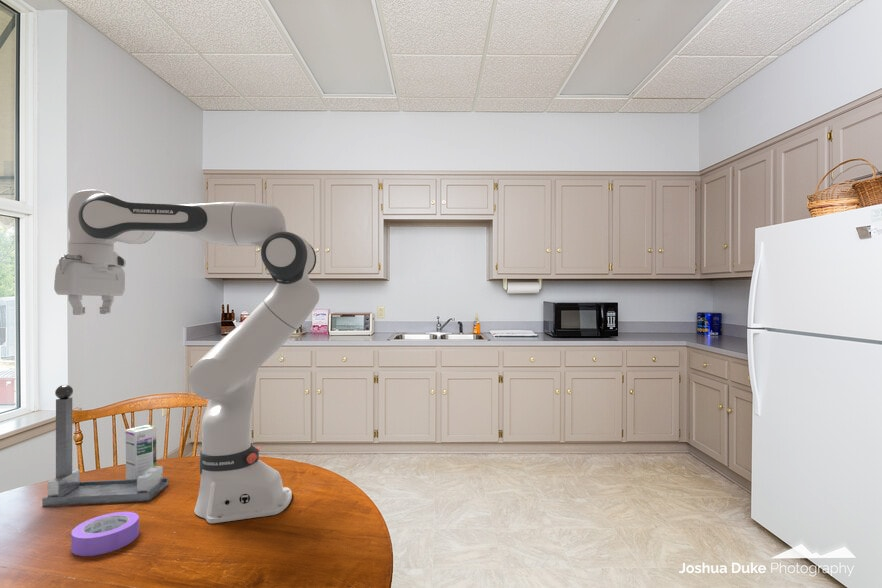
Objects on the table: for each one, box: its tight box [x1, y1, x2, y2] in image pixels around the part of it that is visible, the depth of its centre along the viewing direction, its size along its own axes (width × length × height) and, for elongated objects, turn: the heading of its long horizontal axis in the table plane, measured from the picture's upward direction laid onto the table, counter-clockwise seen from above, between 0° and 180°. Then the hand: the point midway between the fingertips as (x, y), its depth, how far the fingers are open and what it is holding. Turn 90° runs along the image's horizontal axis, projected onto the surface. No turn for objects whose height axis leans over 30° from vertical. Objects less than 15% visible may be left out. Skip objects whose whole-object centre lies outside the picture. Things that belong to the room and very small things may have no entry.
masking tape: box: [70, 511, 140, 557], centre depth 98 cm, size 12×12×4 cm
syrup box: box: [124, 424, 157, 480], centre depth 132 cm, size 6×6×14 cm
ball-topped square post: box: [47, 384, 81, 497], centre depth 119 cm, size 4×8×28 cm, turn 7°
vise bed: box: [41, 465, 169, 507], centre depth 120 cm, size 25×10×6 cm, turn 97°
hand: (92, 314), depth 111 cm, fingers open, 8 cm apart
